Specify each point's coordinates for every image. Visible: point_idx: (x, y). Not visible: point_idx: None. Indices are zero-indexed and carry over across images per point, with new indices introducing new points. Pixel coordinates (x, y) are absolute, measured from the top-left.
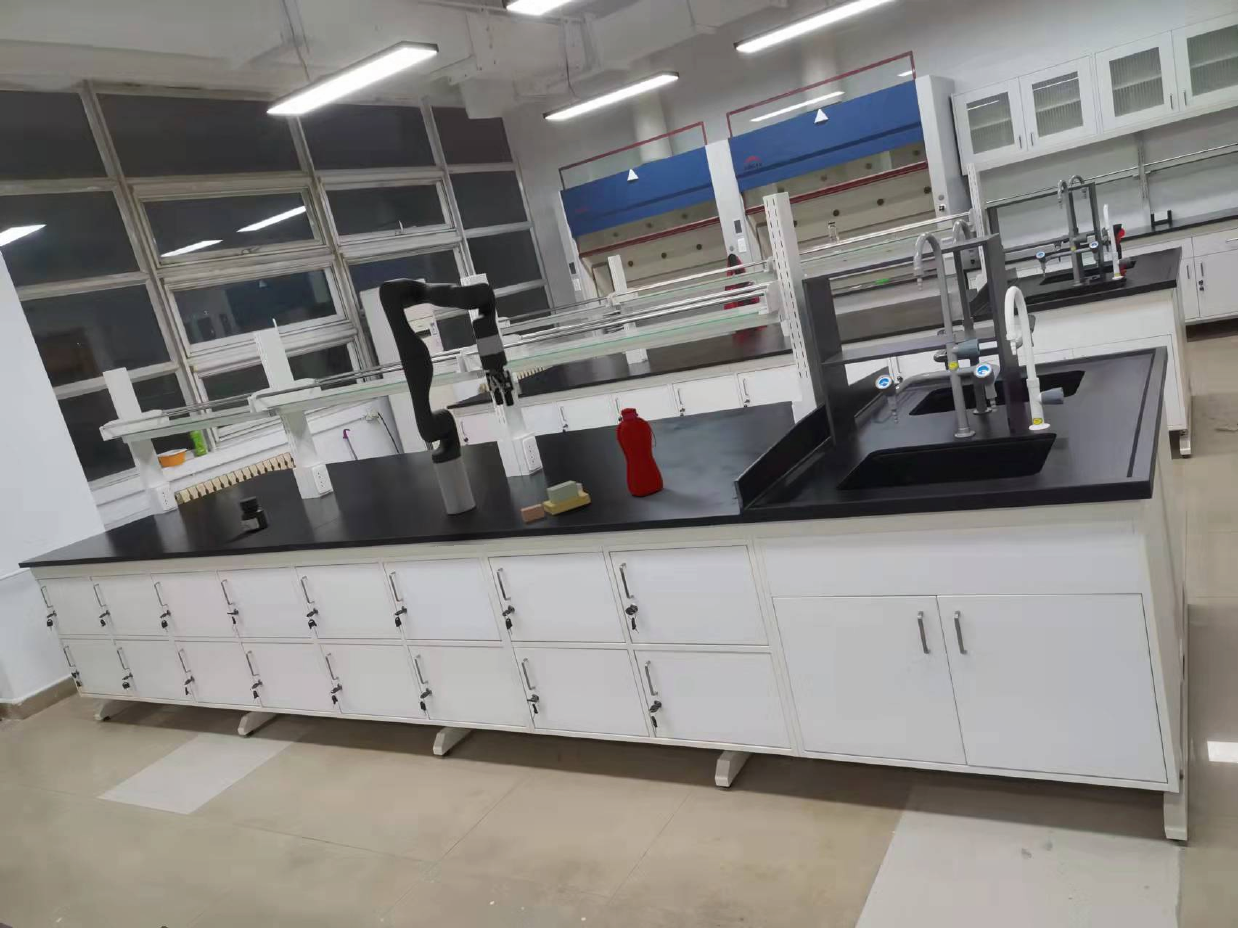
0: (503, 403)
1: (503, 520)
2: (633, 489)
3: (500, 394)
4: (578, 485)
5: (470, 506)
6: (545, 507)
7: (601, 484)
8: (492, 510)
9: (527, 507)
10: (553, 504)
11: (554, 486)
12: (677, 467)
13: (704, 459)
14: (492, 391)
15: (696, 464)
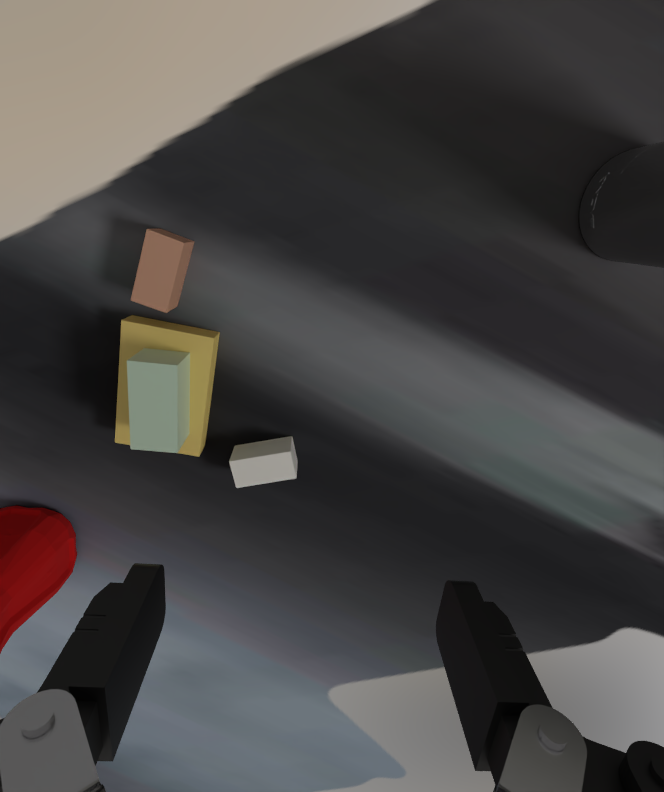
0: (436, 632)
1: (278, 205)
2: (18, 516)
3: (469, 729)
4: (233, 476)
5: (584, 226)
6: (194, 330)
7: (269, 535)
8: (455, 255)
9: (174, 265)
10: (140, 340)
11: (172, 393)
12: (167, 669)
13: (153, 717)
14: (544, 739)
15: None
